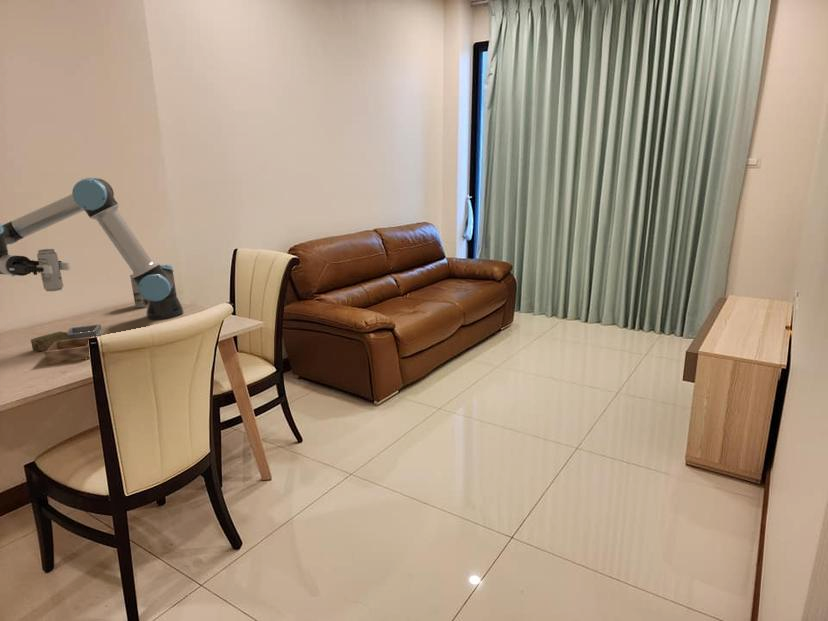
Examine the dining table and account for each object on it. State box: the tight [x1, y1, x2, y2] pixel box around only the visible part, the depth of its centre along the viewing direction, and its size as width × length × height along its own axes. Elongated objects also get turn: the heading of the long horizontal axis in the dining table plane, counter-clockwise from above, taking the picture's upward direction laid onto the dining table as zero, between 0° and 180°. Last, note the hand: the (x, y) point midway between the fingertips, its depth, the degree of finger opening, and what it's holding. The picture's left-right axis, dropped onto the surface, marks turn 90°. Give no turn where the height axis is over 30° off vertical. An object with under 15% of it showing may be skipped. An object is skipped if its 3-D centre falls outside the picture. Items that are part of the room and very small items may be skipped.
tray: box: [66, 323, 102, 339], centre depth 211 cm, size 11×11×2 cm
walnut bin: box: [44, 336, 97, 365], centre depth 187 cm, size 13×13×4 cm
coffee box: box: [129, 274, 149, 309], centre depth 255 cm, size 9×6×16 cm
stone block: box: [30, 331, 69, 352], centre depth 197 cm, size 6×12×5 cm, turn 153°
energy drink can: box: [36, 248, 64, 292], centre depth 192 cm, size 6×6×15 cm
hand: (59, 268), depth 190 cm, fingers closed on energy drink can, 6 cm apart
